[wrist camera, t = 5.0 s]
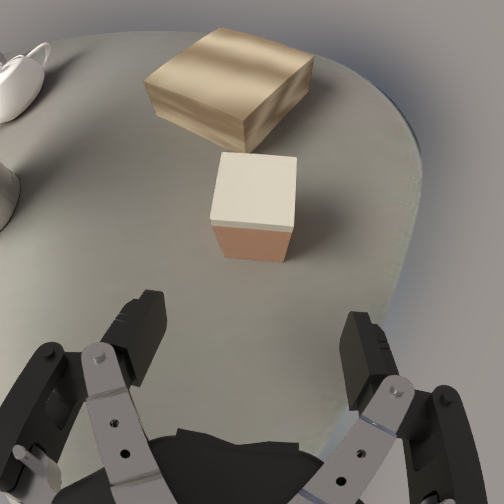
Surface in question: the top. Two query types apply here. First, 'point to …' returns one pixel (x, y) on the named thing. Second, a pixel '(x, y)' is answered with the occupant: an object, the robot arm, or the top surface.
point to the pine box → (230, 87)
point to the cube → (254, 205)
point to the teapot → (20, 83)
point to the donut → (2, 59)
